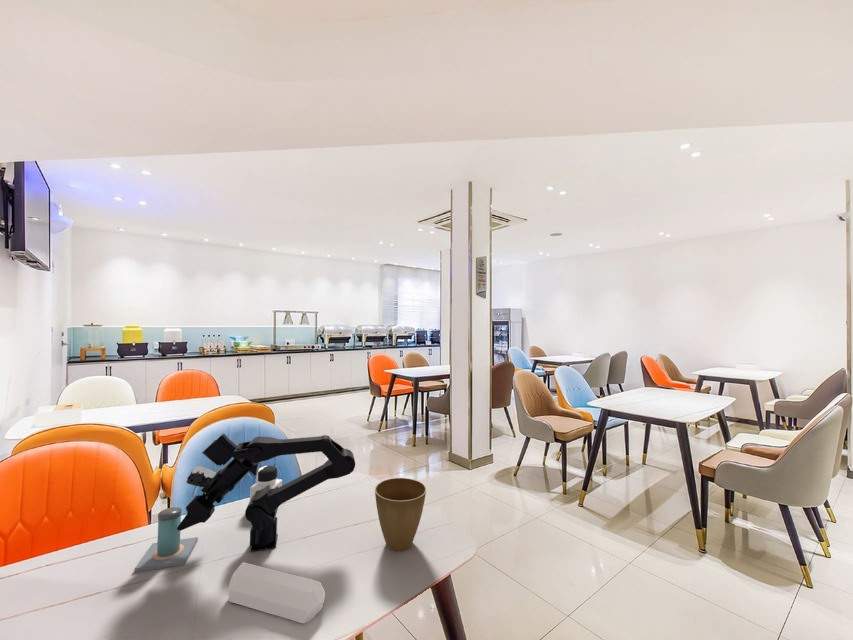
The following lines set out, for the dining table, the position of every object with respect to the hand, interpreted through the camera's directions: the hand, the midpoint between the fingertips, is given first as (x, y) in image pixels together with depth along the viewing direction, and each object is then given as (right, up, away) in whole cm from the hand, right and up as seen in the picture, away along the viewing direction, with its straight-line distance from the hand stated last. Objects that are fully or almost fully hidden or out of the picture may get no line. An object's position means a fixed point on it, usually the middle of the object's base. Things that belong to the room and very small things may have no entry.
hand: (185, 520), depth 99 cm
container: (+10, -10, +27) cm, 31 cm away
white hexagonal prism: (+32, -10, -17) cm, 37 cm away
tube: (-4, -8, -1) cm, 9 cm away
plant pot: (+58, -10, +6) cm, 59 cm away
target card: (-4, -9, -1) cm, 10 cm away
